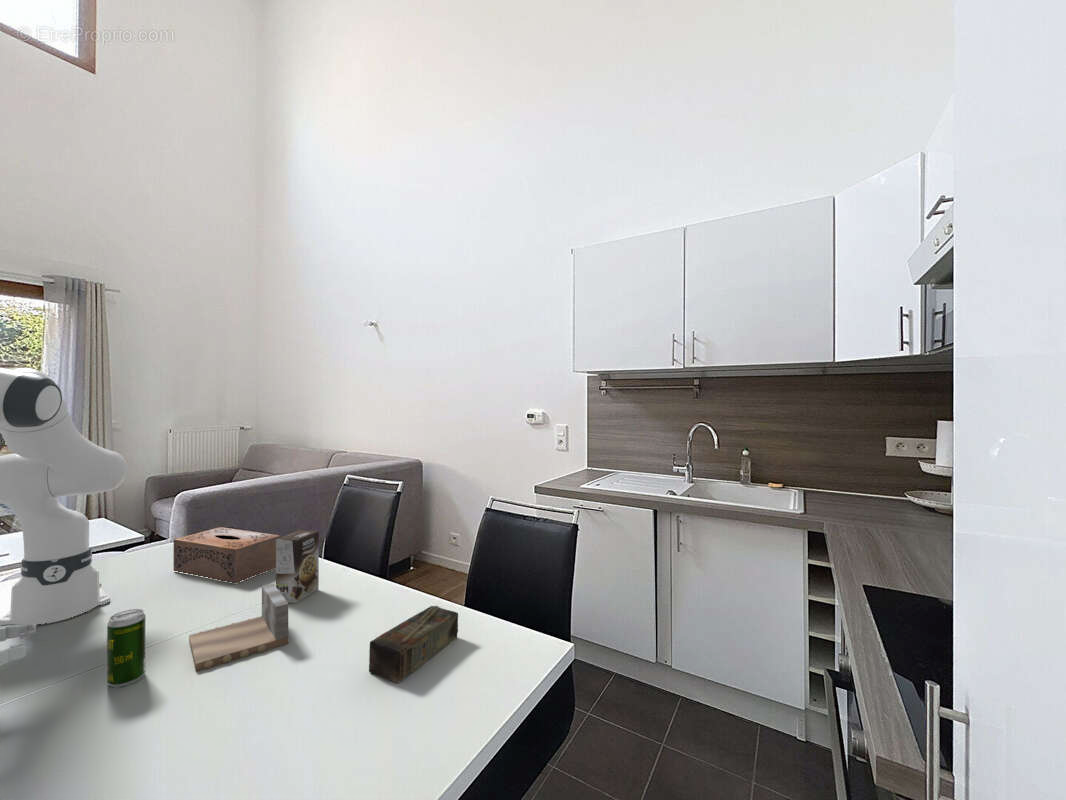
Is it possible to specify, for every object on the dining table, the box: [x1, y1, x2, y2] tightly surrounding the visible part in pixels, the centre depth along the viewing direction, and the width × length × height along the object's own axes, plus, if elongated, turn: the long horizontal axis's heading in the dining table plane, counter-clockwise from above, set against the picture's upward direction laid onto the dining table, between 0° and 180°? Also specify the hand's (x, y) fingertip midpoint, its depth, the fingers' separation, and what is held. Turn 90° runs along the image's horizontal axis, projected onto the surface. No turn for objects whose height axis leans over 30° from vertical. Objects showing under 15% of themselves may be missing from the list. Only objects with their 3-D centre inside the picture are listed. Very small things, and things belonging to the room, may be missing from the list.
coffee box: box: [275, 529, 320, 604], centre depth 124 cm, size 9×6×16 cm
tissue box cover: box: [172, 526, 281, 584], centre depth 142 cm, size 26×14×10 cm, turn 70°
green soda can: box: [106, 608, 146, 688], centre depth 87 cm, size 5×5×12 cm
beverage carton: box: [368, 605, 459, 684], centre depth 96 cm, size 8×19×7 cm, turn 154°
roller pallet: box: [188, 583, 289, 672], centre depth 100 cm, size 15×16×8 cm
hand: (30, 638), depth 79 cm, fingers open, 8 cm apart
